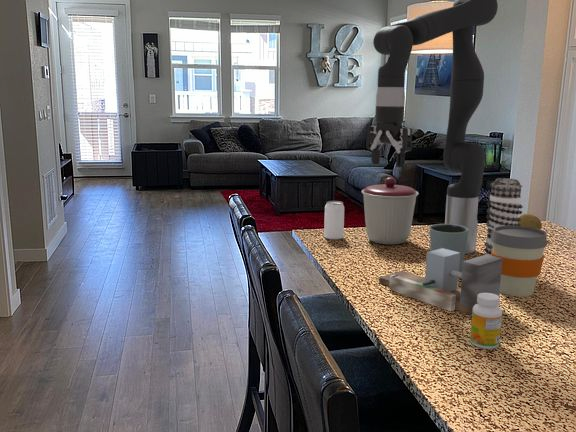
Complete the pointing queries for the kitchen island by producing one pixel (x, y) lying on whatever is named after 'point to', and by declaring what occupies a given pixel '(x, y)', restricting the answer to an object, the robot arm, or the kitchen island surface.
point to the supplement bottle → (486, 321)
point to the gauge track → (475, 279)
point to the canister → (389, 212)
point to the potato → (530, 221)
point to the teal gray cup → (449, 239)
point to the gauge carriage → (443, 269)
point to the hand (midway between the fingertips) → (387, 165)
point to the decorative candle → (502, 207)
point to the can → (334, 220)
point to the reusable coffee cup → (519, 257)
